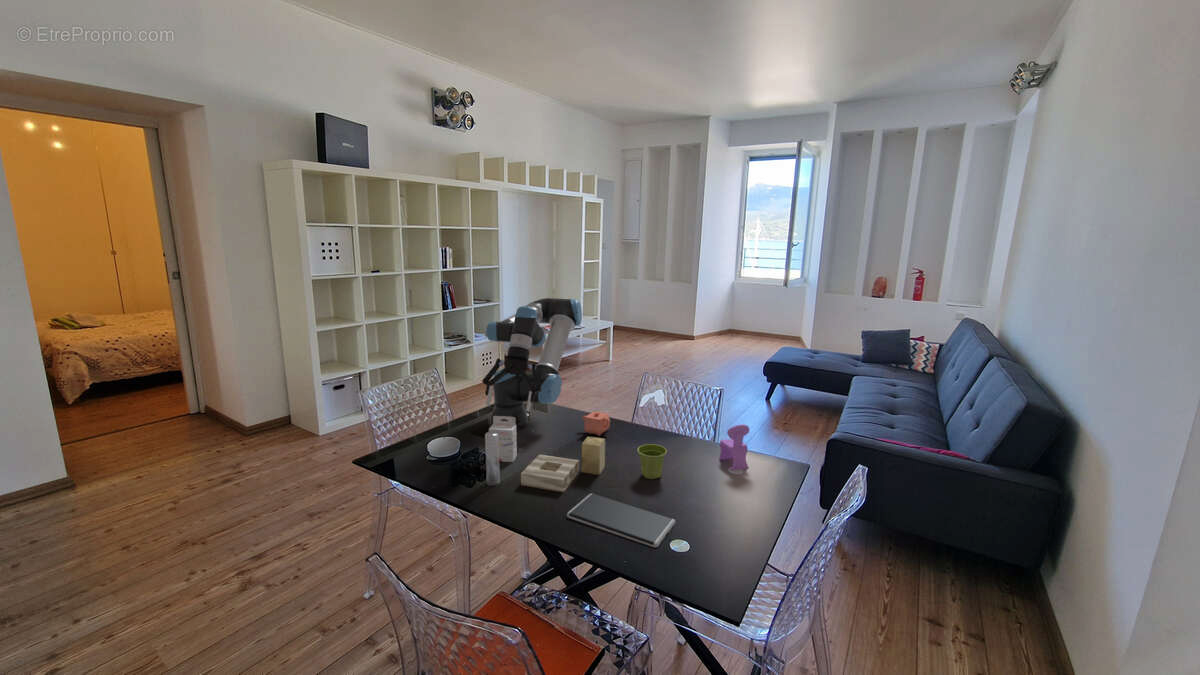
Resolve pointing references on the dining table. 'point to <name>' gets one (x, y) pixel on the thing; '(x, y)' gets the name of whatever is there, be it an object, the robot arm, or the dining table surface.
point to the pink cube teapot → (596, 422)
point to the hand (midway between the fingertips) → (507, 408)
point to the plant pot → (651, 460)
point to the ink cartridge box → (505, 437)
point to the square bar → (593, 455)
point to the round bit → (492, 458)
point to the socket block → (550, 473)
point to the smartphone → (622, 519)
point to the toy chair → (735, 447)
